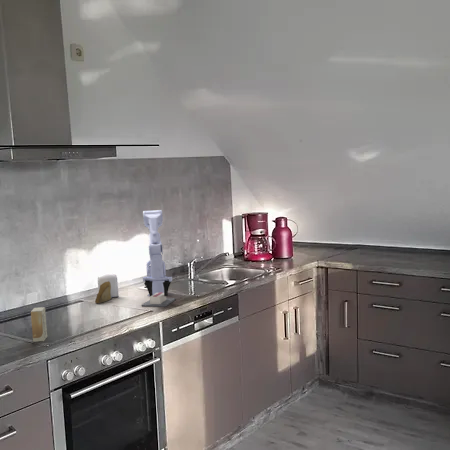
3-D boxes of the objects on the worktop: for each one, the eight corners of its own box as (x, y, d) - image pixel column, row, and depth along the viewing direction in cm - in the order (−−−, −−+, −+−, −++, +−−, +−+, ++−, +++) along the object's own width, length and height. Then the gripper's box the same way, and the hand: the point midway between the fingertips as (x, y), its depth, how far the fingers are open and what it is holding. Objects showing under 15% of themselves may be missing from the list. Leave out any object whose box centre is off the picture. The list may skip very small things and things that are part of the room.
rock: (98, 300, 278) (116, 294, 284) (91, 285, 281) (109, 279, 287) (93, 310, 286) (111, 303, 292) (86, 295, 289) (104, 289, 295)
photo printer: (100, 299, 291) (98, 275, 290) (98, 298, 294) (96, 274, 293) (119, 296, 295) (118, 273, 294) (117, 295, 299) (115, 272, 298)
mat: (152, 299, 285) (152, 298, 285) (175, 300, 282) (175, 298, 282) (141, 306, 271) (141, 304, 271) (165, 306, 268) (165, 305, 268)
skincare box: (36, 337, 226) (34, 307, 225) (47, 336, 226) (45, 306, 225) (32, 342, 220) (30, 311, 219) (44, 341, 220) (41, 310, 219)
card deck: (150, 303, 272) (149, 296, 272) (156, 299, 281) (156, 292, 281) (159, 304, 271) (159, 296, 271) (166, 299, 280) (166, 292, 279)
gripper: (139, 269, 273) (141, 297, 274) (168, 269, 269) (169, 297, 270) (145, 267, 280) (146, 294, 281) (173, 267, 276) (174, 294, 277)
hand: (158, 295), depth 276 cm, fingers open, 7 cm apart
